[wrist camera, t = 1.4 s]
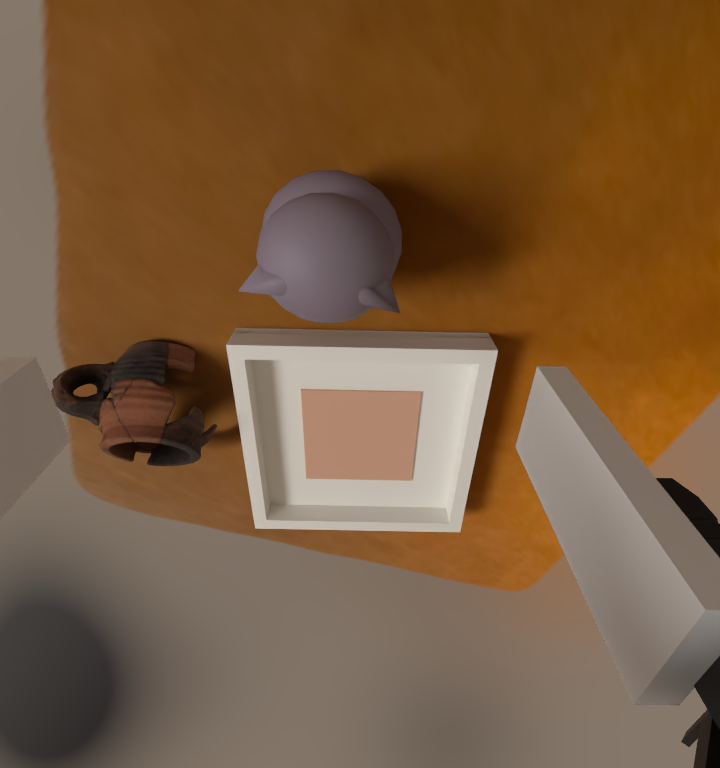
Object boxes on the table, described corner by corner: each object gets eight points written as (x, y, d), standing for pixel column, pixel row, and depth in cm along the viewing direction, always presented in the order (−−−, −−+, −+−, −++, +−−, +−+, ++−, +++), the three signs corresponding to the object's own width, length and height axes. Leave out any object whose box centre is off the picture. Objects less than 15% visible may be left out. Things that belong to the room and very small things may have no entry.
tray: (488, 332, 35) (498, 350, 32) (454, 508, 45) (459, 532, 43) (236, 327, 35) (226, 345, 32) (261, 504, 45) (255, 528, 43)
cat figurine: (407, 171, 29) (431, 205, 19) (387, 286, 33) (398, 365, 23) (276, 152, 28) (227, 176, 18) (273, 271, 32) (231, 345, 22)
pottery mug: (234, 350, 36) (221, 445, 33) (211, 395, 44) (198, 476, 40) (66, 311, 31) (27, 417, 28) (72, 368, 39) (42, 459, 35)
